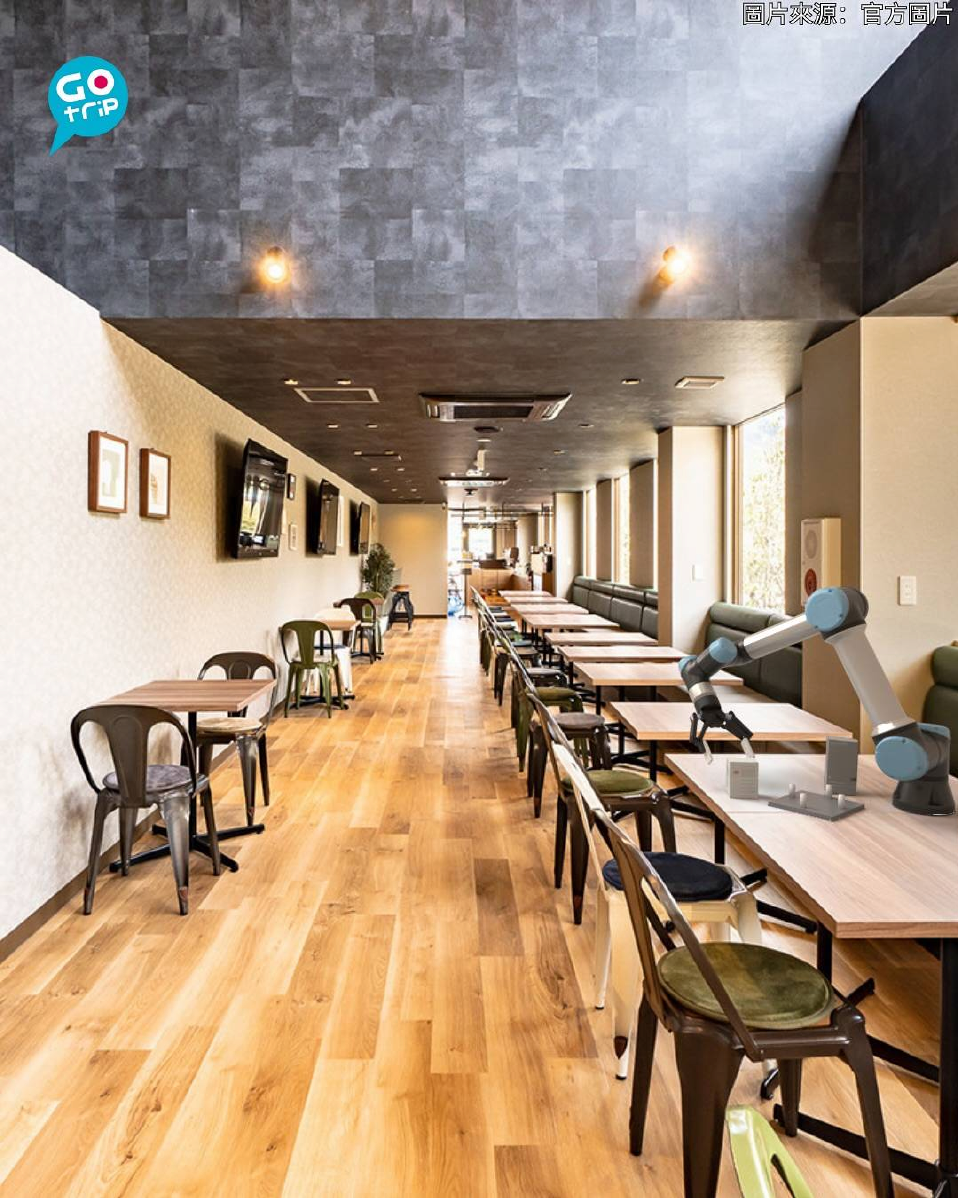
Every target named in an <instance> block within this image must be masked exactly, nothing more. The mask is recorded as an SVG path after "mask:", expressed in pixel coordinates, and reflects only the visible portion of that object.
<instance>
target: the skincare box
mask: <svg viewBox="0 0 958 1198" xmlns="http://www.w3.org/2000/svg"><path fill="white" fill-rule="evenodd" d="M825 739H826V742H825V759H824V760H825V761H824V780H823V788H824V791H826V785H827V784H829V785H832V795H839V794H843V795H845V796H854V797H855V796H856V795H857V782H858V764H859V763H858V761H859V760H858V759H859V745H860V744H859V741H858V740H857V739H856V738H854V737H852V738H850V737H844V736H832V735H827V736H826V737H825Z"/></svg>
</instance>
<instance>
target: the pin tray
mask: <svg viewBox="0 0 958 1198" xmlns="http://www.w3.org/2000/svg"><path fill="white" fill-rule="evenodd" d="M788 788H789V790H788V794H786V795H784V796H780V797H777V798H775V799H771V800H768V801H767V805H768V806H769V807H773V808H776V809H779V810H780V809H781V810H784V811H788V812H792V813H796V812H798V813H797V814H800V813H801V814H800V815H804V814H806V815H805V816H808V815H810V816H809V817H812V816H814V817H813V818H816V817H817V819H820V818H821V820H824V819H825V821H828V820H831V821H830V822H834V821H833V820H835V821H837V820H840V819H842V818H844V817H847V816H849V815H851V813H852V814H854V813H856V812H857V813H858V812H859V811H861V810H862V811H863V809H865V806H866V805H865V803H862V802H857V801H852V800H849V799H846V795H843V794H837V795H838V797H834V796H833V794H832V785H829V784H827V785H826V790H825V794H821V793H817V792H812V791H808V790H804V789H800V790H797V791H796V784H795V783H789V786H788ZM853 812H854V813H853ZM848 814H849V815H848ZM846 815H847V816H846ZM839 818H840V819H839Z"/></svg>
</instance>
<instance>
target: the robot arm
mask: <svg viewBox="0 0 958 1198" xmlns="http://www.w3.org/2000/svg"><path fill="white" fill-rule="evenodd" d="M869 605H870V604H869V600H868V598H867V596H866V595H865V594H864V593H863V592H862V591H861V590H860V589H858V588H856V587H852V586H825V587H823V588H819V589H817V590H815V591H814V592H812V593H811V594H810V595H809V596H808V598H807V600H806V603H805V606H804V612H802V613H800V614H797V615H795V616H793V617H791V618H787V619H785V620H783V621H780V622H777V623H776V624H773V625H771V626H769V627H766V628H764V629H762V630H759V631H757V632H755V633H752V634H750V635H747V636H746V637H742V638H740V639H737V640H735V641H731V640H730V639H729V638H726V637H722V636H721V637H719V638H717V639H716V640H715V641H713V642H711V643H710V644H709V646H708V647H706V648H705V649H704V651H702V652H700V653H699V654H698V655H696V654H689V655H687V656H686V657H683V658H681V659H680V661H679V662H678V664H677V667H678V671H679V673H680V677H681V679H682V681H683V683H684V685H685V687H686V690H687V692H688V694H689V697H690V700H691V702H692V704H693V707H694V709H695V712H692V713H691V715H690V717H689V721H690V731H689V739H688V740H689V743H690V744H694V746H695V747H697V748H698V750H699V752H700V754H703V756H704V759H705V761H706V764H707V765H711V764H712V762H713V761H714V757H713V755H712V752H711V749H710V747H709V745H708V743H707V741H706V740H705V739H704V737H705V735H706V732H707V730H708V728H710V729H713V728H716V729H719V728H721V729H723V730H726V731H727V732H728V733H730V734H732V735H733V736H734V737H736V738H737V739H739V740H740V741H741V742H740V745H741V747H742V749H743V751H744V754H745V756H746V758H754V759H756V755H755V752H754V751H753V749H754V747H753V744H752V742H751V739H752V738H753V737H754V735H755V734H754V732H752V731H751V730H750V728H748V726H746V725H745V724H744V723H743V722H742V721H741V720H740V719H739V718H738V717H737V716H736V713H734V711H733V710H730V711H728V712H724V711H723V707H722V703H721V702H720V700H719V697H718V695H717V693H716V691H715V688H714V686H713V684H712V682H711V678H712V677H714V676H715V675H716V674H717V673H719V672H720V671H721V670H723V669H724V668H730V667H737V666H745V665H748V664H750V663H751V662H753V661H754V660H757V659H760V658H762V657H764V656H765V657H766V656H767V655H769V654H772V653H775V652H777V651H780V650H783V649H785V648H787V647H790V646H792V645H795V644H797V643H800V642H802V641H805V640H807V639H811V638H812V637H815V636H817V635H818V636H819V635H821V638H822V639H823V641H824V643H827V644H829V645H831V646H833V648H834V650H835V653H836V655H837V656H838V659H839V660H840V662H841V664H842V666H843V668H844V670H845V672H846V675H847V676H848V679H849V681H850V683H851V685H852V687H853V689H854V691H855V693H856V695H857V697H858V699H859V701H860V704H861V705H862V708H863V709H864V711H865V714H866V715H867V718H868V720H869V721H870V724H871V725H872V728H873V729H872V732H871V734H870V735H871V736H870V737H871V739H872V742H873V743H874V746H875V751H874V760H875V762H876V765H877V767H878V768H879V769H880V771H881V772H882V773H883V774H884V775H885V776H887V777H888V778H891V779H892V780H896V781H897V783H896V786H895V788H894V791H893V793H892V799H891V800H892V802H891V803H892V806H893V807H895V808H897V809H899V810H902V811H905V812H908V813H913V814H917V813H918V814H917V815H924V814H929V815H928V816H934V815H933V814H950V813H953V812H955V813H956V801H955V798H954V795H953V792H952V790H951V786H950V782H949V781H950V779H949V777H950V776H949V775H950V753H951V752H950V751H951V750H950V748H951V739H952V738H951V731H950V729H949V728H948V727H947V726H944V725H939V724H938V725H937V724H933V723H932V724H931V723H924V722H917V721H916V719H914V718H911V717H909V716H908V715H906V713H905V710H904V708H903V706H902V705H901V702H900V701H899V700H900V699H898V696H897V695H896V693H895V691H894V689H893V686H892V685H891V683H890V680H889V678H888V677H887V675H886V673H885V671H884V669H883V667H882V665H881V663H880V661H879V659H878V657H877V655H876V653H875V651H874V649H873V647H872V646H871V643H870V642H869V639H868V637H867V635H866V633H865V632H866V629H867V627H868V624H867V622H866V618H867V616H868V613H869V610H870V606H869ZM699 721H701V722H702V723H703V725H702V726H701V729H700V731H699V733H698V725H699ZM697 733H698V736H697ZM703 739H704V740H703ZM919 813H920V814H919ZM930 814H931V815H930ZM953 814H954V813H953ZM950 815H951V814H950Z"/></svg>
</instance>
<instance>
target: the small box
mask: <svg viewBox="0 0 958 1198" xmlns="http://www.w3.org/2000/svg"><path fill="white" fill-rule="evenodd" d="M725 761H726V762H725V763H726V765H725V767H726V771H725V773H726V774H725V793H726V795H727V796H728V797H729V798H730V799H753V800H755V799H756V800H757V799H759V766H760V765H759V761H757V759H756V758H747V757H730V756H729V757H726V760H725Z"/></svg>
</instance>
